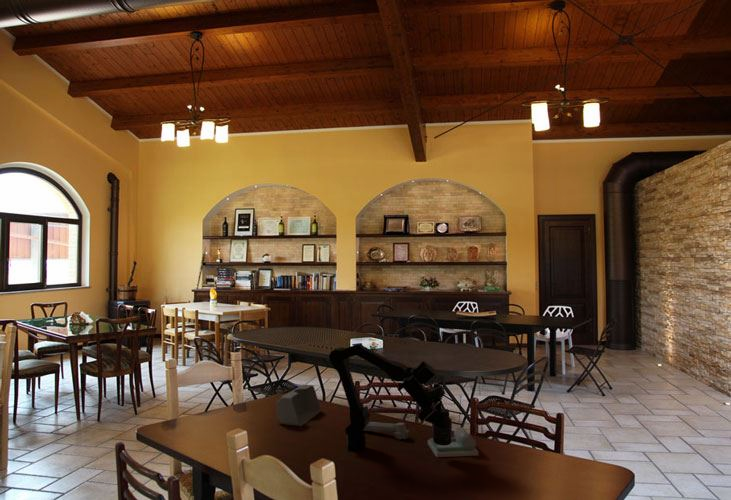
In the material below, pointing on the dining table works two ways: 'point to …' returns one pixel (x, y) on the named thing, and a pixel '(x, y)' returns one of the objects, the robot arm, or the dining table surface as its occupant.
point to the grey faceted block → (298, 406)
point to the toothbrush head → (389, 429)
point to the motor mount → (456, 445)
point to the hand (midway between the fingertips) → (446, 424)
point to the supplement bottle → (441, 434)
